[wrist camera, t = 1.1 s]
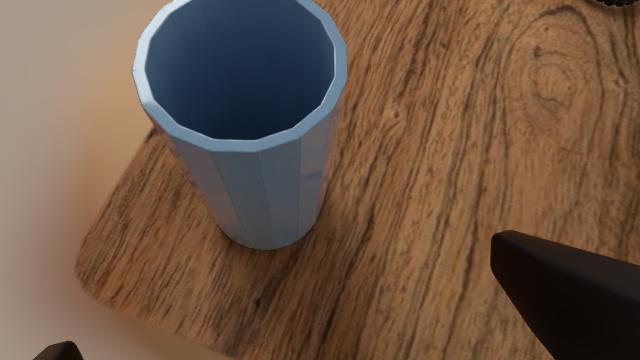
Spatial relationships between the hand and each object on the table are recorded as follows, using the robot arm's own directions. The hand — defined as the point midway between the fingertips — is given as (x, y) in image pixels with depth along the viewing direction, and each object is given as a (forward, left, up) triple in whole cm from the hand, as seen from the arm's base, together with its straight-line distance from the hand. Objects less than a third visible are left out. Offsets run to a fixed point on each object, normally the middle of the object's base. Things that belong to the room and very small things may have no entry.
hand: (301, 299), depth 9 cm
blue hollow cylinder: (+7, +2, -13) cm, 15 cm away
